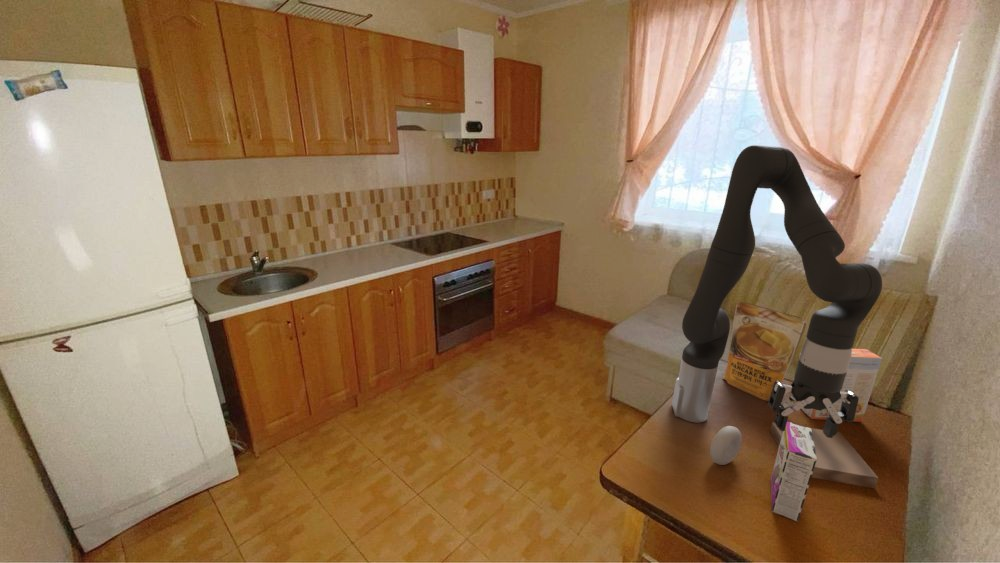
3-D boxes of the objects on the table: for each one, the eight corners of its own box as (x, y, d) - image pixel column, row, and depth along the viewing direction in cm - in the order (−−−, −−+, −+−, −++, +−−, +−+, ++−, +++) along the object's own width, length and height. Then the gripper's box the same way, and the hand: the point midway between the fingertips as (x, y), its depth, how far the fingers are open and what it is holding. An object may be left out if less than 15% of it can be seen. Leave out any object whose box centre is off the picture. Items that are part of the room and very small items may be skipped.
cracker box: (846, 410, 119) (867, 348, 113) (862, 423, 113) (884, 358, 107) (797, 407, 120) (815, 345, 114) (810, 419, 114) (829, 355, 108)
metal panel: (795, 474, 95) (798, 464, 94) (769, 431, 109) (772, 422, 108) (874, 488, 91) (878, 477, 90) (837, 441, 106) (840, 432, 105)
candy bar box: (768, 478, 93) (784, 419, 88) (794, 487, 91) (812, 427, 86) (769, 512, 84) (787, 449, 79) (798, 523, 82) (819, 459, 77)
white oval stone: (727, 450, 102) (734, 417, 99) (740, 458, 99) (748, 425, 96) (703, 464, 97) (710, 430, 94) (716, 474, 94) (724, 439, 91)
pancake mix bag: (725, 373, 139) (741, 298, 130) (786, 400, 123) (809, 317, 115) (715, 378, 135) (730, 302, 126) (776, 407, 120) (799, 322, 111)
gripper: (789, 367, 75) (772, 437, 80) (878, 377, 72) (854, 450, 77) (774, 349, 82) (758, 415, 87) (854, 357, 79) (833, 426, 84)
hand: (803, 431), depth 82 cm, fingers open, 8 cm apart
